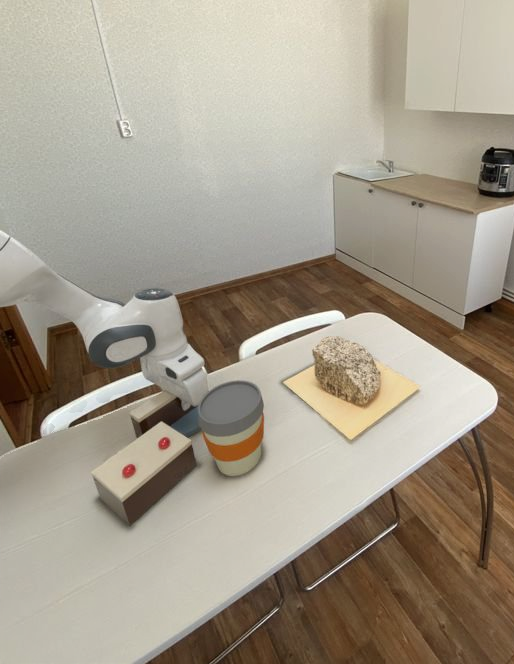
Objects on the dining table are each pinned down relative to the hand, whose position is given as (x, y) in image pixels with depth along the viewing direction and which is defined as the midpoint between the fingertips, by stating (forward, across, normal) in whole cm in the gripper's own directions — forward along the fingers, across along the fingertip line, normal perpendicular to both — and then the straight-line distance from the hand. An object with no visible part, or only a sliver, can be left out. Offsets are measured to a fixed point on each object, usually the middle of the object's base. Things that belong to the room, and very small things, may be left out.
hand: (179, 404), depth 91 cm
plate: (+4, 0, 0) cm, 4 cm away
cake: (+4, +10, -14) cm, 18 cm away
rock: (+4, +30, +29) cm, 42 cm away
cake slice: (+2, 0, -3) cm, 4 cm away
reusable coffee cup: (+4, +21, -1) cm, 21 cm away
